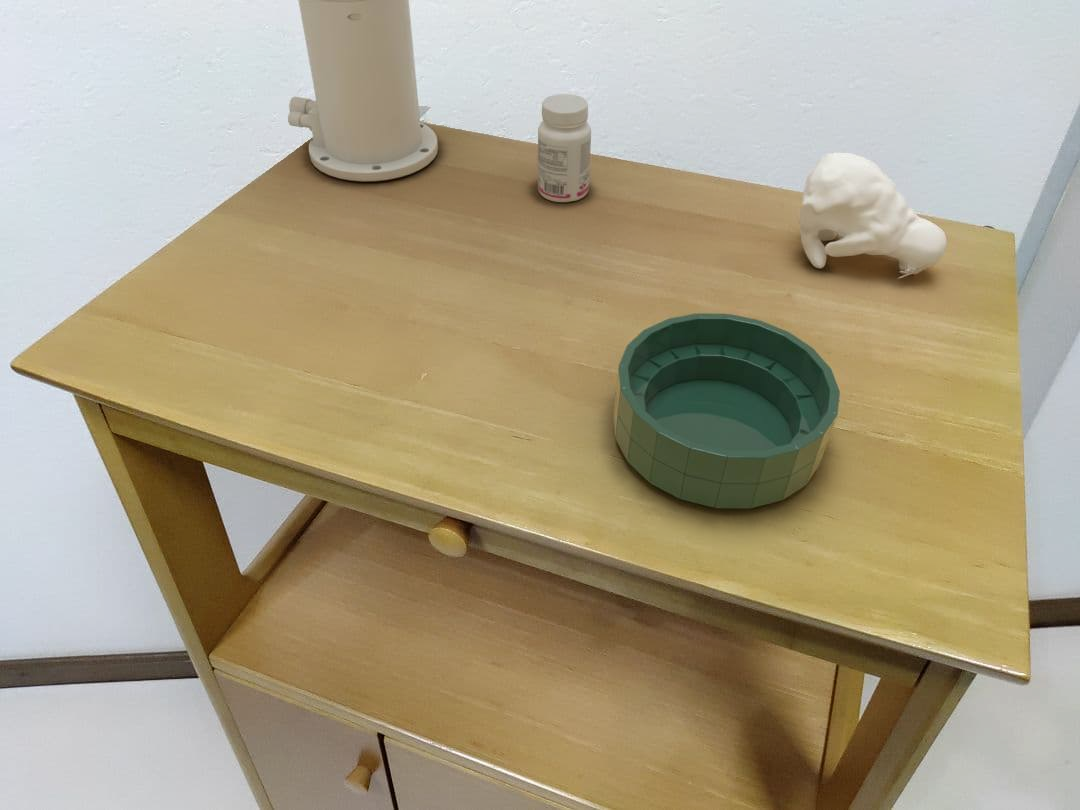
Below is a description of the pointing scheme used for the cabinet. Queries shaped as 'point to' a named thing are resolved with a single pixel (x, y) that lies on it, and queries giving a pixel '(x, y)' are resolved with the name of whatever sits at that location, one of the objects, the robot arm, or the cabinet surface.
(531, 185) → the cabinet surface
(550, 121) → the pill bottle
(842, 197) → the white irregular piece
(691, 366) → the bowl
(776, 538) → the cabinet surface
